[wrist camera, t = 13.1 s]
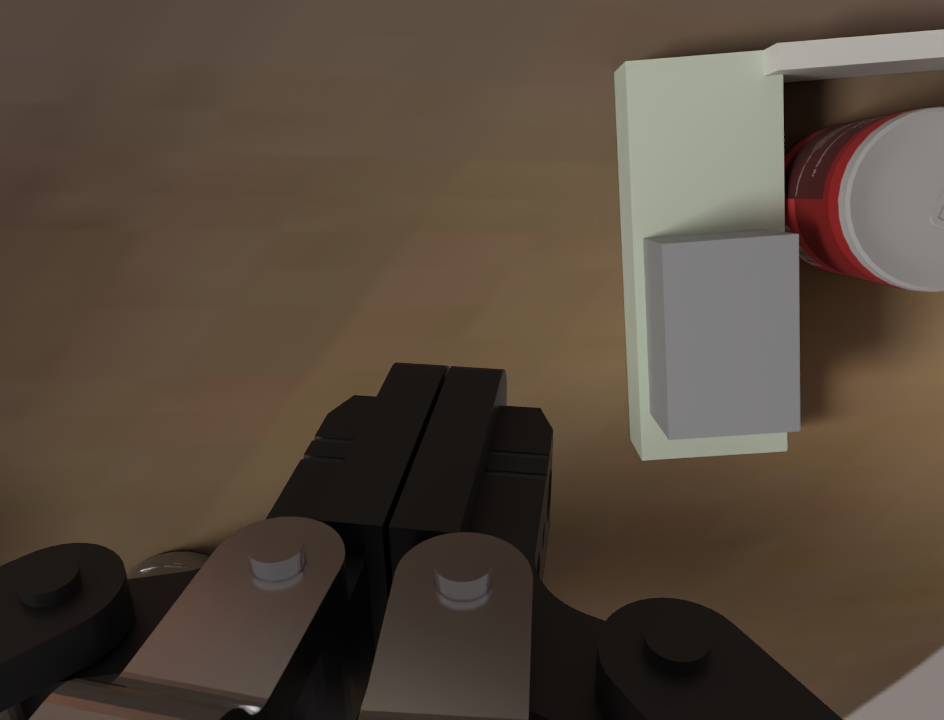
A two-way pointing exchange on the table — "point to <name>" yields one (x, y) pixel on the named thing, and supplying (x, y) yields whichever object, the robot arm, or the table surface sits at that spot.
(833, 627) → the table surface
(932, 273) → the canned food
